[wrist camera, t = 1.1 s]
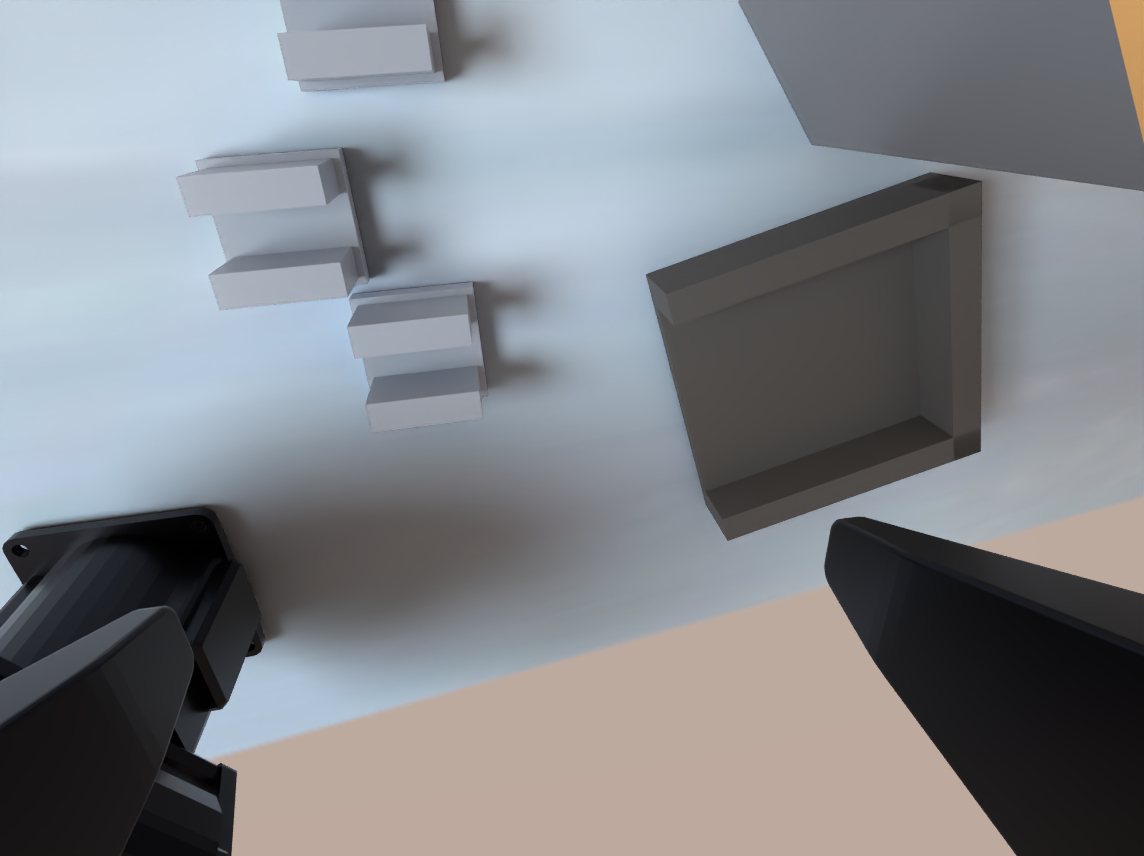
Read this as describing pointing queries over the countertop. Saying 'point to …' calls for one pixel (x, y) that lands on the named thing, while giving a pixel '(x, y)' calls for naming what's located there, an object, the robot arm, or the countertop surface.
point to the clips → (344, 221)
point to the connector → (968, 81)
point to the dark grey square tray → (829, 351)
